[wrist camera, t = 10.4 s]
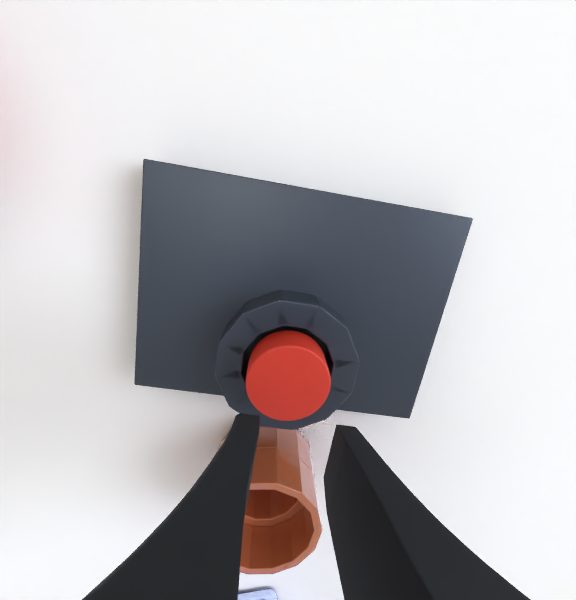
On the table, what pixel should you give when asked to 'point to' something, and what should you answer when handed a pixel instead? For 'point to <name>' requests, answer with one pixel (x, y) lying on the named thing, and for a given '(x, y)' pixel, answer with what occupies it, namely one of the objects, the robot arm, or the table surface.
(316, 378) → the button
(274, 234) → the console
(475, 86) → the table surface
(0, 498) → the table surface
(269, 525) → the cup
